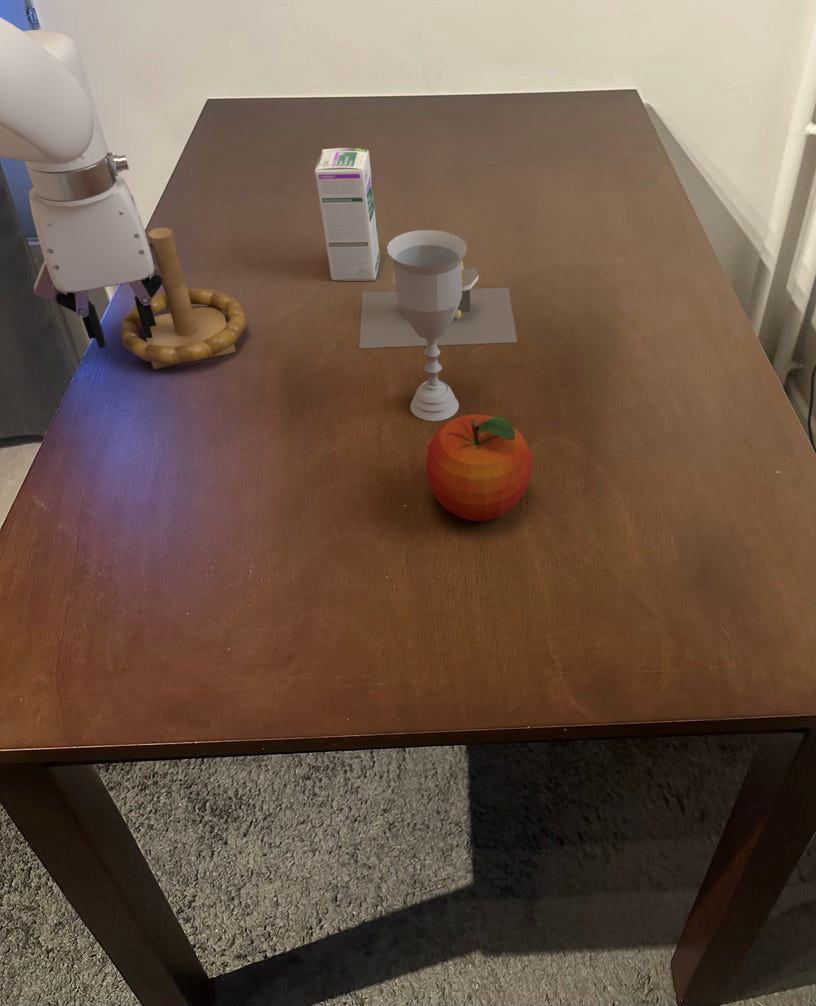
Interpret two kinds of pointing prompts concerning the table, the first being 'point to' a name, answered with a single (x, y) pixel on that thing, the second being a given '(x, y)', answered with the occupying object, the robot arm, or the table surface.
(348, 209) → the syrup box
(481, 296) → the platform
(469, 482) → the fruit
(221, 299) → the ring
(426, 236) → the chalice
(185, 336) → the post
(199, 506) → the table surface
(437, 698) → the table surface
